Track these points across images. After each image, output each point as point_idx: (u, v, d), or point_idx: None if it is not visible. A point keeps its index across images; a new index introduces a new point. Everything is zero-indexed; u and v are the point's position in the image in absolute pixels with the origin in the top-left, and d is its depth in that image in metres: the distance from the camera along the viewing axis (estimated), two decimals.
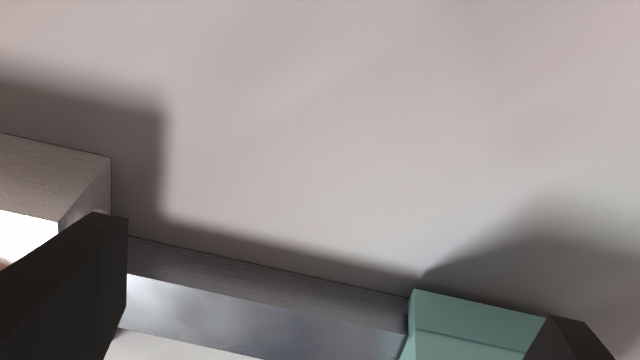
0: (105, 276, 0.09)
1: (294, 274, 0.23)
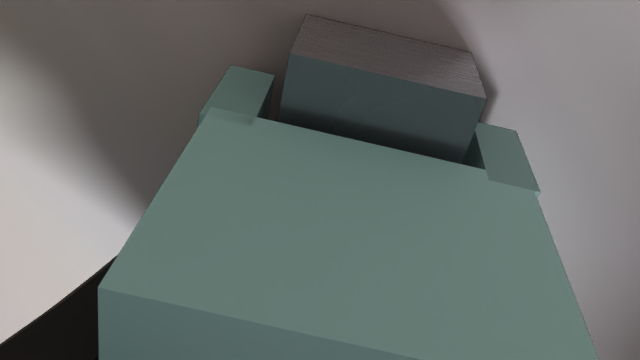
0: None
1: None
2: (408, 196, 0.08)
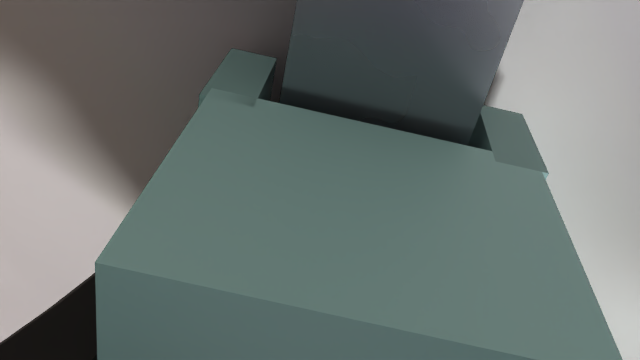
0: None
1: None
2: (413, 176, 0.08)
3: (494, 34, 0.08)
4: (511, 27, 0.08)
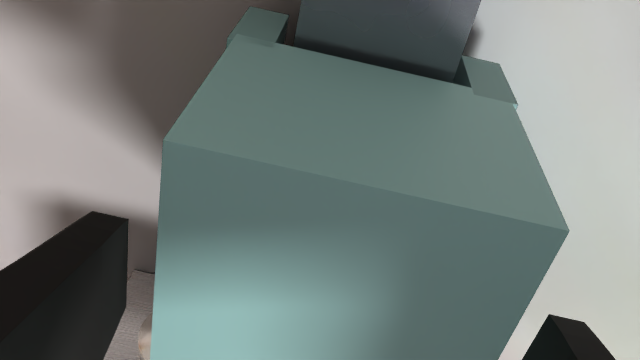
0: (105, 276, 0.09)
1: None
2: (405, 100, 0.09)
3: None
4: None
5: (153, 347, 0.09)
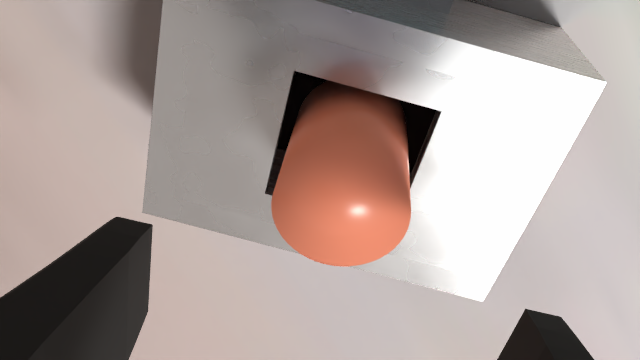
0: (131, 281, 0.09)
1: None
2: None
3: None
4: None
5: None
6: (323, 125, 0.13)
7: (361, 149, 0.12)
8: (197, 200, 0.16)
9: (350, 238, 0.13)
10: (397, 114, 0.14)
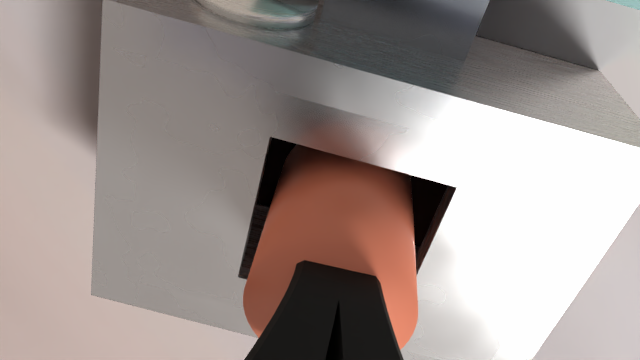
0: None
1: None
2: None
3: None
4: None
5: None
6: (308, 198, 0.10)
7: (355, 238, 0.09)
8: (156, 283, 0.13)
9: None
10: (400, 176, 0.12)
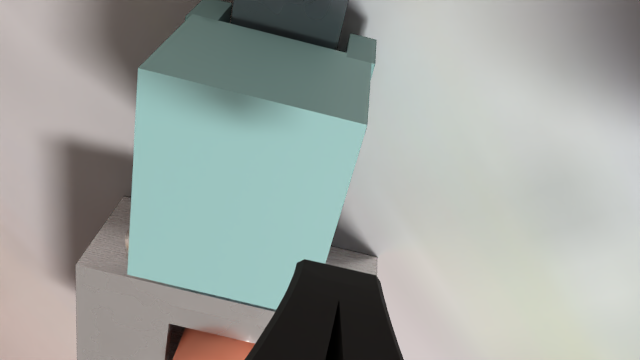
0: None
1: None
2: (295, 57, 0.15)
3: None
4: None
5: (132, 206, 0.14)
6: None
7: (217, 350, 0.19)
8: None
9: None
10: None
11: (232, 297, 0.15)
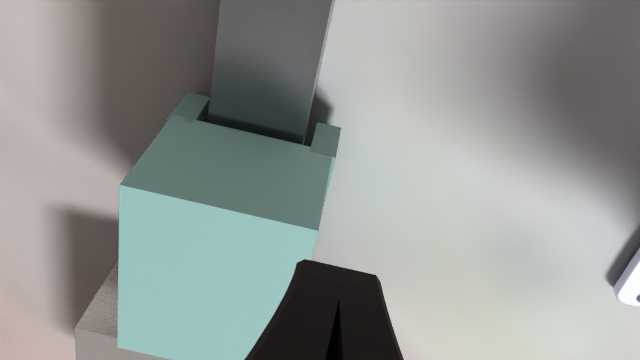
0: None
1: None
2: (262, 157, 0.16)
3: None
4: None
5: (119, 292, 0.16)
6: None
7: None
8: None
9: None
10: None
11: None
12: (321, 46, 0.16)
